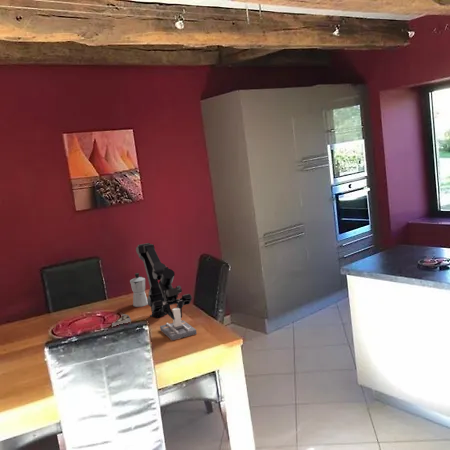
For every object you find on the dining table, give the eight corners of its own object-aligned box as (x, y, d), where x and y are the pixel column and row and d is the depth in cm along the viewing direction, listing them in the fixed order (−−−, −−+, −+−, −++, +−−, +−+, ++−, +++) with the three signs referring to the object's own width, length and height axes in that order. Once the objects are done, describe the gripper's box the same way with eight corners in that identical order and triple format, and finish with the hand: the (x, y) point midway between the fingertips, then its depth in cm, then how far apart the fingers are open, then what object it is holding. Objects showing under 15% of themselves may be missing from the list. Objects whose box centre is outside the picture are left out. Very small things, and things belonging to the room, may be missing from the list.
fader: (172, 327, 234) (170, 309, 232) (180, 325, 235) (178, 307, 234) (175, 329, 231) (172, 310, 230) (183, 327, 233) (180, 308, 231)
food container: (127, 344, 225) (124, 323, 223) (114, 344, 226) (111, 323, 224) (137, 333, 237) (134, 313, 235) (125, 334, 238) (122, 313, 236)
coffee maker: (146, 307, 275) (142, 275, 272) (130, 308, 275) (126, 277, 273) (150, 299, 290) (147, 268, 287) (135, 300, 290) (131, 270, 287)
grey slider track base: (160, 330, 238) (159, 324, 238) (183, 324, 244) (183, 318, 243) (171, 340, 224) (171, 334, 224) (196, 333, 229) (195, 327, 229)
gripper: (150, 285, 229) (161, 314, 221) (188, 277, 237) (199, 305, 229) (147, 297, 238) (157, 326, 230) (184, 289, 246) (195, 317, 237)
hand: (177, 318), depth 231 cm, fingers closed on fader, 3 cm apart
